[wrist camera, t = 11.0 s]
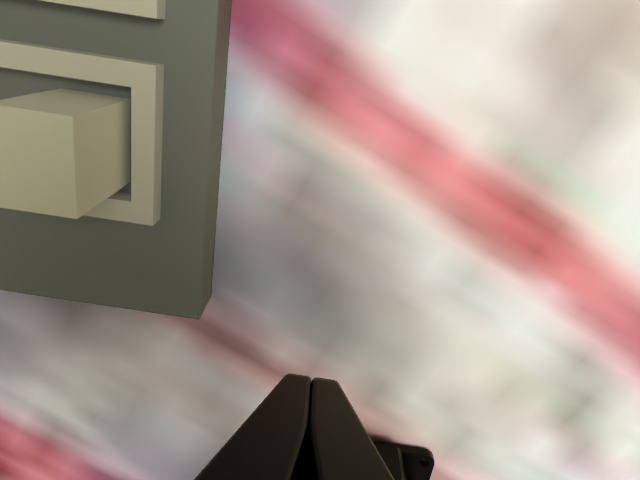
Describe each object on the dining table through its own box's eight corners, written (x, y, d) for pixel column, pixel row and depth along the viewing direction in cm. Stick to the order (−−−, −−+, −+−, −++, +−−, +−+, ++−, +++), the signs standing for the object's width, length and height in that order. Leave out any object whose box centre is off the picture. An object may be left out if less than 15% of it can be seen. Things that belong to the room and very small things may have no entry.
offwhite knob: (130, 182, 19) (76, 218, 15) (65, 172, 18) (-4, 206, 15) (130, 98, 17) (73, 116, 14) (61, 88, 17) (-16, 103, 14)
